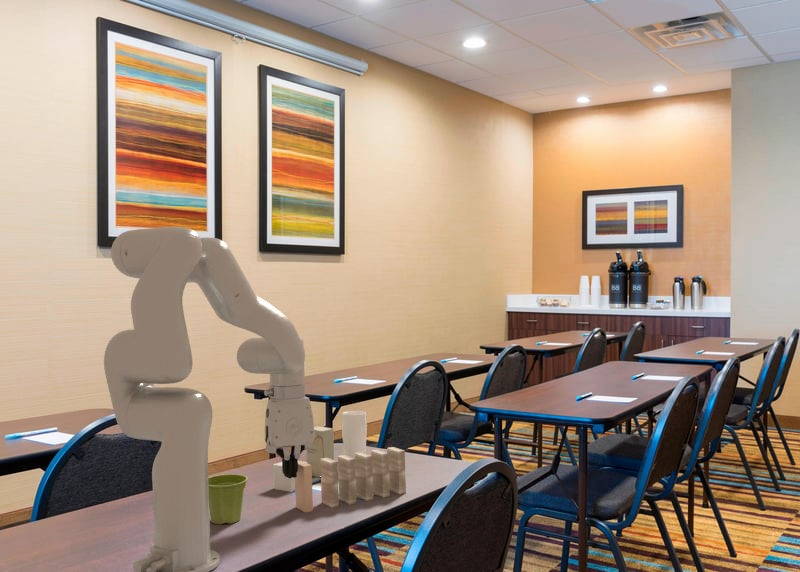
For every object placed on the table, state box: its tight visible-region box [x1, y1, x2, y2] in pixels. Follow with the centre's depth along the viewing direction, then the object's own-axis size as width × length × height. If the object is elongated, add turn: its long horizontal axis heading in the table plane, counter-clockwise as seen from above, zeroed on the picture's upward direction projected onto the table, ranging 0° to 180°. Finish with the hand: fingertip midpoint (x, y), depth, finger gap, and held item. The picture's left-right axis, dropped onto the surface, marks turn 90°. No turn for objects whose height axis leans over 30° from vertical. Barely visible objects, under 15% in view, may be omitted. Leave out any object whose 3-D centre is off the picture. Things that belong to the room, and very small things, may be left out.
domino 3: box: [337, 454, 357, 505], centre depth 172 cm, size 2×5×10 cm, turn 32°
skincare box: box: [306, 425, 335, 478], centre depth 197 cm, size 6×4×12 cm
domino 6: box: [386, 446, 407, 495], centre depth 179 cm, size 2×5×10 cm, turn 32°
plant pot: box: [208, 473, 249, 525], centre depth 161 cm, size 9×9×9 cm
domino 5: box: [370, 449, 391, 499], centre depth 177 cm, size 2×5×10 cm, turn 32°
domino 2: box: [320, 458, 340, 509], centre depth 170 cm, size 2×5×10 cm, turn 32°
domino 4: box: [355, 452, 374, 502], centre depth 175 cm, size 2×5×10 cm, turn 32°
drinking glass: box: [340, 410, 368, 458], centre depth 203 cm, size 7×7×15 cm
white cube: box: [272, 460, 308, 493], centre depth 186 cm, size 6×6×6 cm
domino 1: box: [294, 460, 314, 513], centre depth 167 cm, size 2×5×10 cm, turn 32°
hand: (290, 476), depth 165 cm, fingers closed
